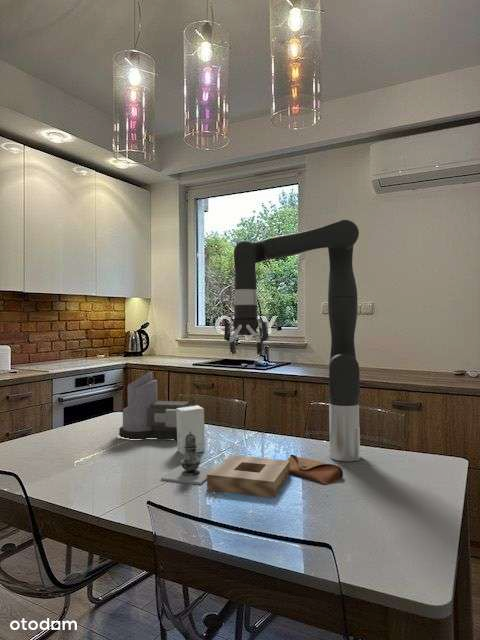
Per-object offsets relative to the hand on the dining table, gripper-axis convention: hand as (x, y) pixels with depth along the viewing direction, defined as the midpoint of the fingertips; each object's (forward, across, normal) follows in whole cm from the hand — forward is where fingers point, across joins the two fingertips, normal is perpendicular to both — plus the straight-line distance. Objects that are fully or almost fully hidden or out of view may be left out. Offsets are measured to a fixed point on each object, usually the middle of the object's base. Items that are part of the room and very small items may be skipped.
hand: (246, 354), depth 149 cm
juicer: (+34, +43, -16) cm, 56 cm away
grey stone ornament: (+33, +10, +22) cm, 41 cm away
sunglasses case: (+34, -22, +11) cm, 42 cm away
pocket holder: (+33, -8, +22) cm, 41 cm away
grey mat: (+33, +10, +22) cm, 41 cm away
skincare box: (+33, +20, 0) cm, 39 cm away
